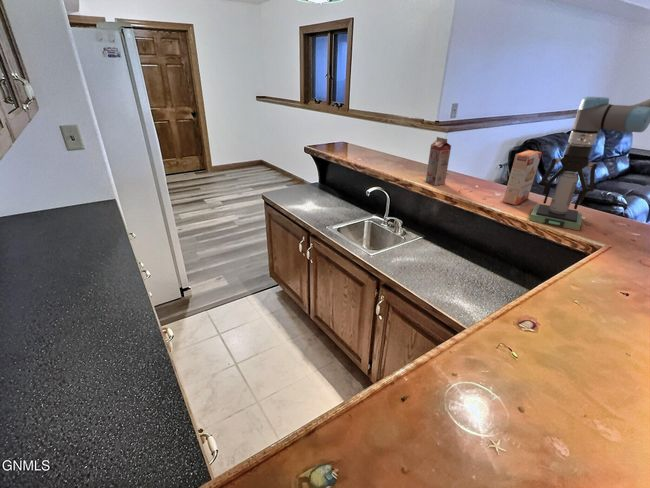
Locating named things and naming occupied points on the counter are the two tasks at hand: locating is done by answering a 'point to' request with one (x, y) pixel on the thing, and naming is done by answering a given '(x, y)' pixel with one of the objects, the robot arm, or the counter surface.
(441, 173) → the juice carton
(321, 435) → the counter surface
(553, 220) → the scale
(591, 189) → the robot arm
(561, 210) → the energy drink can
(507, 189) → the cracker box
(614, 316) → the counter surface
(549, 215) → the scale pan
